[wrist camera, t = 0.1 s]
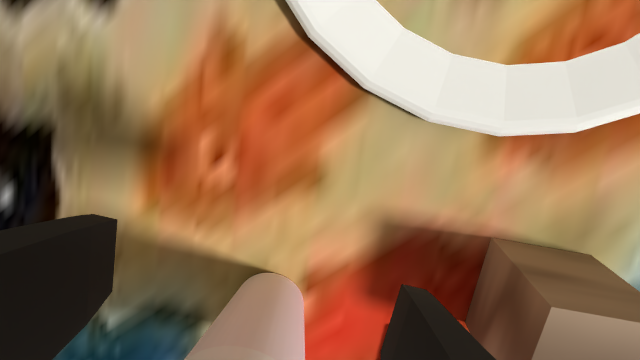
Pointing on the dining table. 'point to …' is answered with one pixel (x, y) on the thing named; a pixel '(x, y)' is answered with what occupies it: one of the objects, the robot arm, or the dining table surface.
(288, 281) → the smoothie
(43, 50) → the dining table surface
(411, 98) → the white flat ring
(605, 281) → the walnut block
